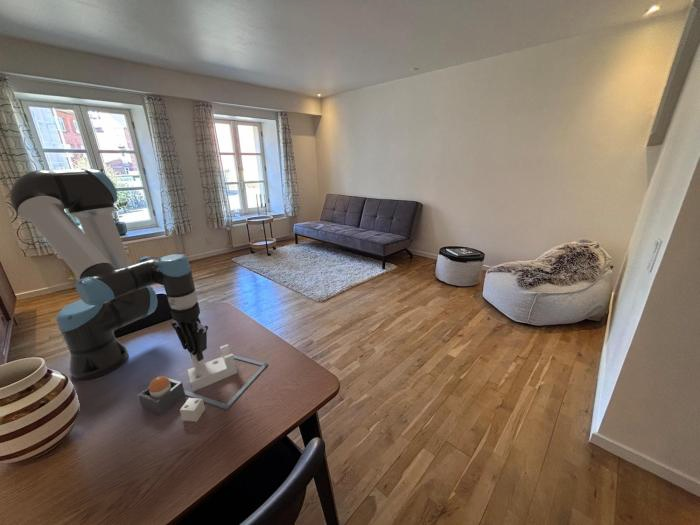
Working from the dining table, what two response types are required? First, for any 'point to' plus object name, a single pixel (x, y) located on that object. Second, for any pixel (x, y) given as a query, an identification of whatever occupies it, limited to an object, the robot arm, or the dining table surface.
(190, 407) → the die
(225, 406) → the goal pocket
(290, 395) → the dining table surface
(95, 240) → the robot arm
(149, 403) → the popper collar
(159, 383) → the orange and white capsule
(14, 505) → the dining table surface
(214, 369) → the bracket
